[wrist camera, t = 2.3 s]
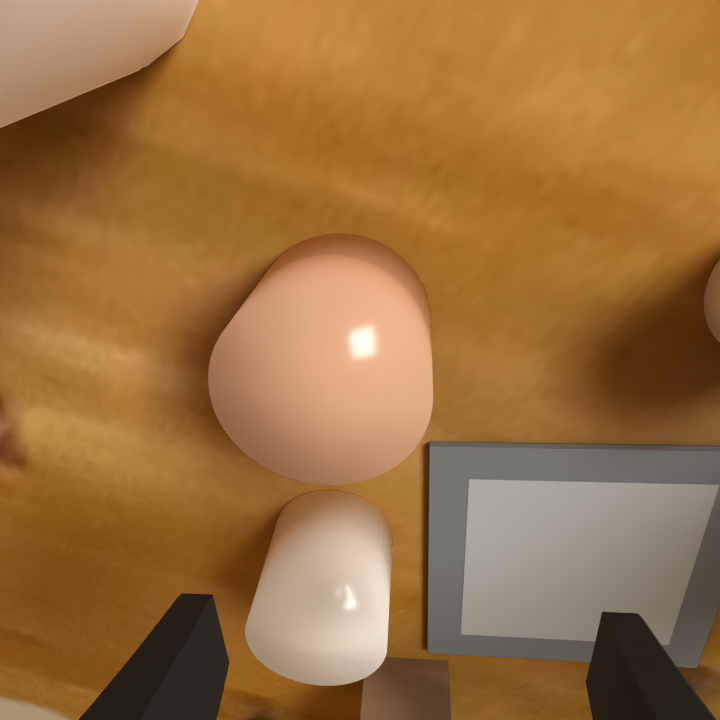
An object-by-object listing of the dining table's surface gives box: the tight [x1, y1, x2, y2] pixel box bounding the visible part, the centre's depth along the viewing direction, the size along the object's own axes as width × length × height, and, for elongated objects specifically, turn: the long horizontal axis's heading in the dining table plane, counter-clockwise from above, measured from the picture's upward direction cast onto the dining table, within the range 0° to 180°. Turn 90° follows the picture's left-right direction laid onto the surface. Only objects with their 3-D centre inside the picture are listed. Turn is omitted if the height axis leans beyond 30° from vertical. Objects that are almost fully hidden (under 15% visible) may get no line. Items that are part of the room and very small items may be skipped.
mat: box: [427, 442, 720, 668], centre depth 23 cm, size 12×12×1 cm
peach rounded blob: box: [208, 234, 433, 485], centre depth 17 cm, size 6×6×5 cm
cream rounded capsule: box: [245, 490, 393, 686], centre depth 22 cm, size 5×5×5 cm
